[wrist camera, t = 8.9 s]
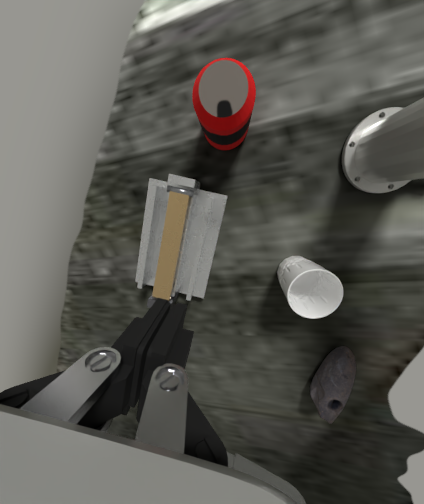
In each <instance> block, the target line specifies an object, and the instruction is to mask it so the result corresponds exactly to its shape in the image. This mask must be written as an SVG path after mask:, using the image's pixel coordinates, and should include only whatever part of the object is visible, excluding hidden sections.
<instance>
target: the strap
mask: <svg viewBox="0 0 424 504" xmlns="http://www.w3.org/2000/svg"><path fill="white" fill-rule="evenodd" d="M167 192H170V193H169V199H168V205H167V211H166V217H165V223H164V229H163V235H162V241H161V247H160V253H159V259H158V265H157V271H156V276H155V282H154V288H153V294H152V297H156V298H162V299H166V300H170V298H171V293H172V288H173V283H174V277H175V272H176V267H177V262H178V256H179V251H180V246H181V241H182V236H183V230H184V225H185V220H186V215H187V210H188V204H189V199H190V197H192V198H193V196H194V191H192V190H187V189H183V188H179V187H174V186H170V185H168V186H167Z"/></svg>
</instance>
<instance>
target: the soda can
mask: <svg viewBox="0 0 424 504" xmlns="http://www.w3.org/2000/svg"><path fill="white" fill-rule="evenodd" d="M255 95H256V89H255V83H254V80H253V77H252V75H251V73H250V71H249V70H248V69H247V68H246V66H245V65H243V64H242V63H241V62H239V61H237V60H235V59H230V58H220V59H217V60H214V61H212V62H210V63H209V64H207V65H206V66H205V67H204V68H203V69H202V70H201V72H200V73H199V75H198V76H197V78H196V81H195V84H194V87H193V105H194V109H195V111H196V114H197V116H198V119H199V122H200V124H201V127H202V129H203V132H204V134H205V137H206V139H207V141H208V142H209V143H210V144H211V145H212V146H213V147H215V148H217V149H219V150H230V149H233V148H235V147H237V146H238V145H240V144H241V142H242V141H243V140H244V138H245V137H246V134H247V131H248V127H249V123H250V119H251V115H252V110H253V106H254V102H255Z"/></svg>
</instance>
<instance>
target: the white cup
mask: <svg viewBox="0 0 424 504" xmlns="http://www.w3.org/2000/svg"><path fill="white" fill-rule="evenodd" d="M277 275H278V280H279V282H280V285H281V287H282V290H283V292H284V294H285V296H286V299H287V301H288V303H289V305H290V307H291V308H292V310H293V311H294V312H295V313H297V314H298V315H300V316H302V317H305V318H310V319H316V318H322V317H325V316H327V315H329V314H331V313H332V312H334V311H335V310H336V309H337V308H338V306H339V305H340V303H341V301H342V298H343V286H342V283H341V281H340V280H339V278H338V277H337V276H336V275H334V274H333V273H331V272H330V271H328V270H326V269H325V268H323V267H321V266H320V265H318V264H316V263H314V262H312V261H310V260H308V259H306V258H304V257H302V256H291V257H289V258H286V259H284V260H283V262H282V263H281V264H280V265H279V267H278V271H277Z"/></svg>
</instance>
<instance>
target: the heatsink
mask: <svg viewBox="0 0 424 504" xmlns="http://www.w3.org/2000/svg"><path fill="white" fill-rule="evenodd" d="M200 184H201V183H200V182H198V181H197V180H194V179H190V178H186V177H181V176H177V175H172V174H169V177H168V182H165V181H160V180H156V179H152V178H149V185H148V193H147V200H146V207H145V215H144V222H143V229H142V237H141V244H140V251H139V259H138V266H137V273H136V280H135V282H138V286H137V288H140V289H142V288H143V287H144V286H145V285H146V284H147V285H151V286H154V282H155V276H156V271H157V265H158V259H159V253H160V247H161V241H162V235H163V229H164V223H165V217H166V211H167V205H168V199H169V193H170V192H167V186H168V185H170V186H174V187H179V188H183V189H187V190H192V191H194V196H193V198H192V197H190V199H189V204H188V210H187V215H186V220H185V225H184V230H183V236H182V241H181V246H180V251H179V256H178V262H177V267H176V272H175V277H174V283H173V288H172V293H171V298H170V300H168V303H171V307H172V306H173V304H174V303H175V302H176V300H177V298H178V295H179V293H183V294H187V297H186V300H189V301H190V300H191V298H192V296H196V297H200V298H204V295H205V291H206V286H207V282H208V278H209V274H210V269H211V265H212V261H213V257H214V252H215V248H216V244H217V239H218V235H219V231H220V227H221V222H222V218H223V214H224V209H225V205H226V201H227V197H228V196H226V195H221V194H217V193H213V192H208V191H204V190H199V189H200ZM157 299H158V298H156V297H152V295H151V296H150V297H149V298H148V304H147V307H149V308H151V307H152V305H153V304H154V303H155V301H156V300H157ZM171 307H170V309H171Z"/></svg>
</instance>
